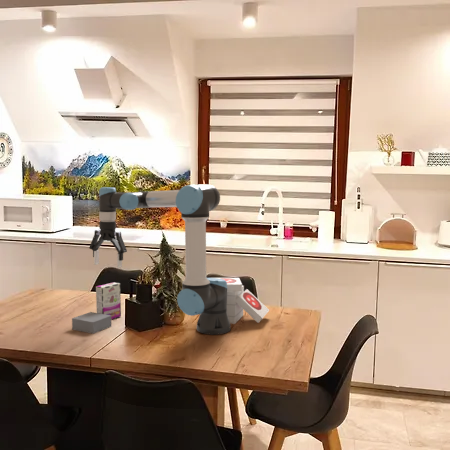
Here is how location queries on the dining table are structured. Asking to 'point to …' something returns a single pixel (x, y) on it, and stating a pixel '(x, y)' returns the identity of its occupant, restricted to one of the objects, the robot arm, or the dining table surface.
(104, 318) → the grey block
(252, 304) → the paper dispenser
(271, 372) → the dining table surface
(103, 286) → the candy bar box
